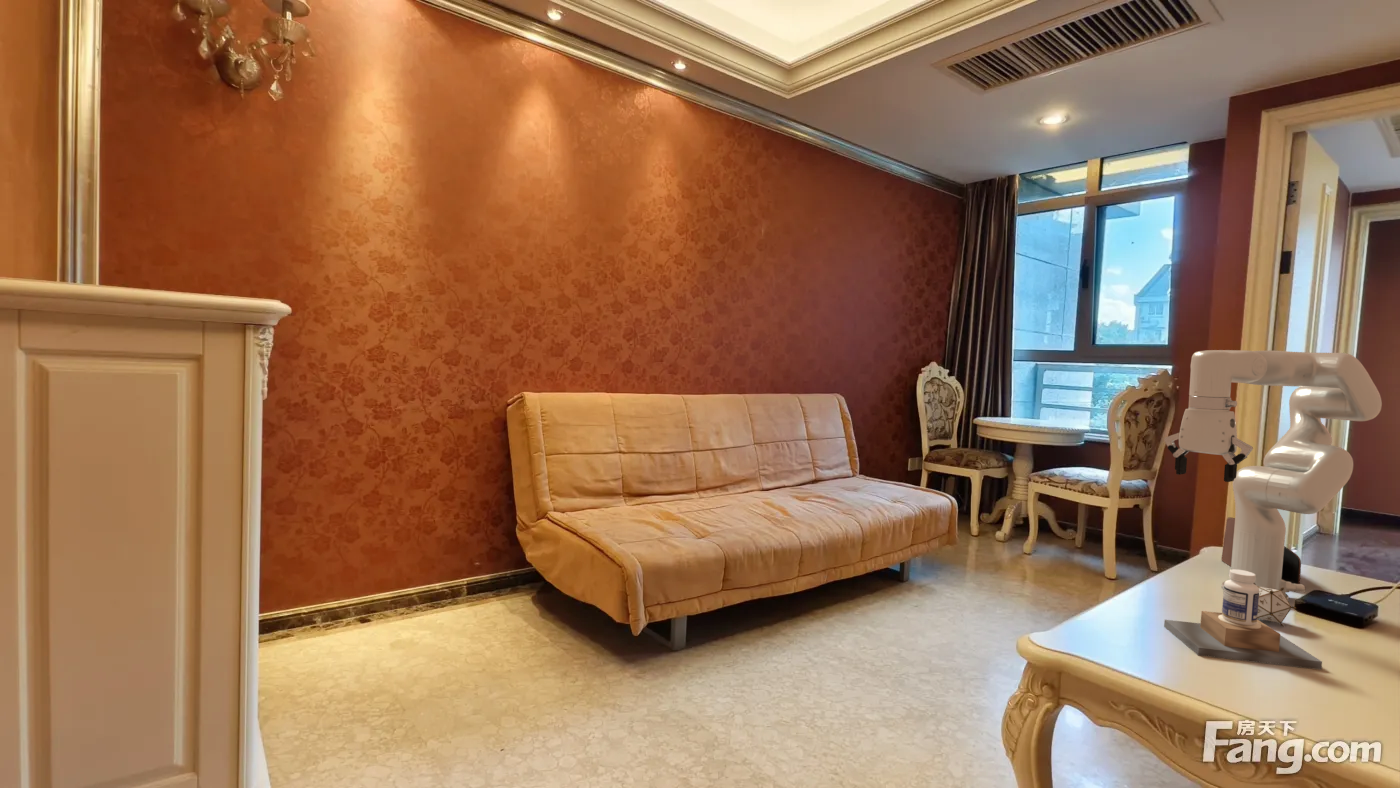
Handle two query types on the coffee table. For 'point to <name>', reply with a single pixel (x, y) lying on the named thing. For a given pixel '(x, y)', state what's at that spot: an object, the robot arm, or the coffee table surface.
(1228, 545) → the letter holder
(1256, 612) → the pill bottle
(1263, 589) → the game die
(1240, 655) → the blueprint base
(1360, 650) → the coffee table surface
